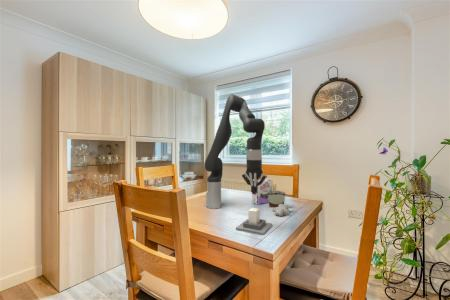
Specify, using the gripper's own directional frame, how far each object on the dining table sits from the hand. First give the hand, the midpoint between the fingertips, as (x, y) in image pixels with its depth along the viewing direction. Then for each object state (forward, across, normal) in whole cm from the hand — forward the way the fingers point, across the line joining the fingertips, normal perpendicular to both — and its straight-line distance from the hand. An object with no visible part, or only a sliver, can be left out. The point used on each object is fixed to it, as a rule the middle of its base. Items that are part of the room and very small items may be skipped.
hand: (254, 193), depth 108 cm
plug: (+16, 0, 0) cm, 16 cm away
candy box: (+17, +12, -47) cm, 52 cm away
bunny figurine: (+17, -7, -29) cm, 35 cm away
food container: (+17, +1, -42) cm, 45 cm away
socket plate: (+17, 0, 0) cm, 17 cm away
